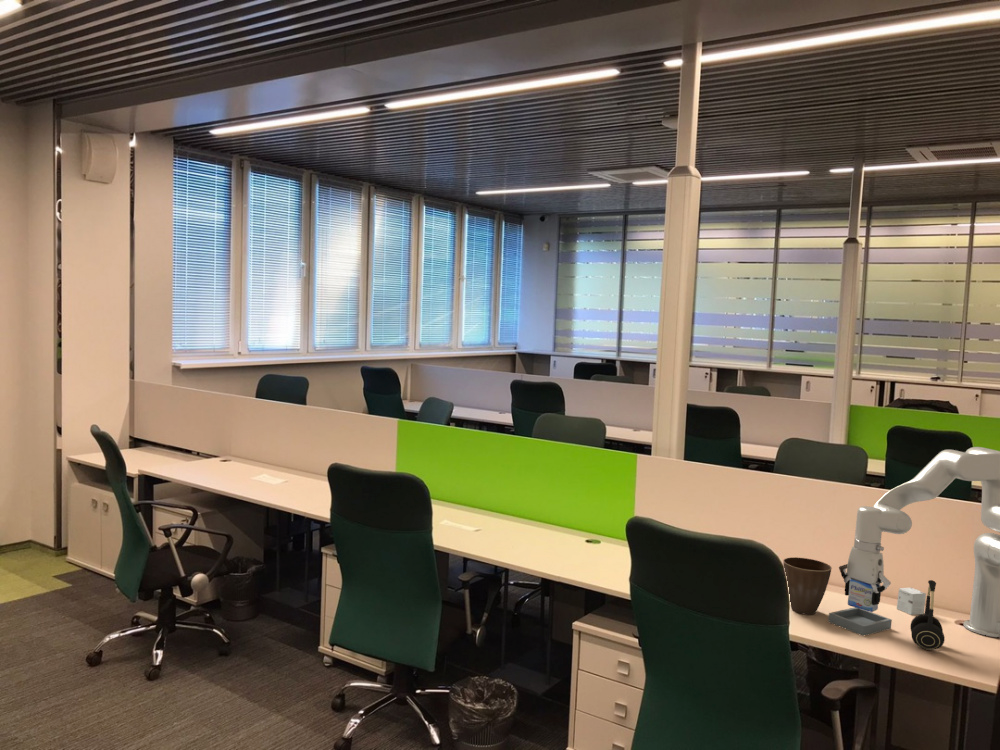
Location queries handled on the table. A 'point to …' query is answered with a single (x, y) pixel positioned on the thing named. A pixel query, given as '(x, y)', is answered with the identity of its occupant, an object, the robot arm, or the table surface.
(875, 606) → the medicine box
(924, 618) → the headphones
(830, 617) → the desk tray
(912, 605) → the skincare box
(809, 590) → the plant pot
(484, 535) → the table surface
